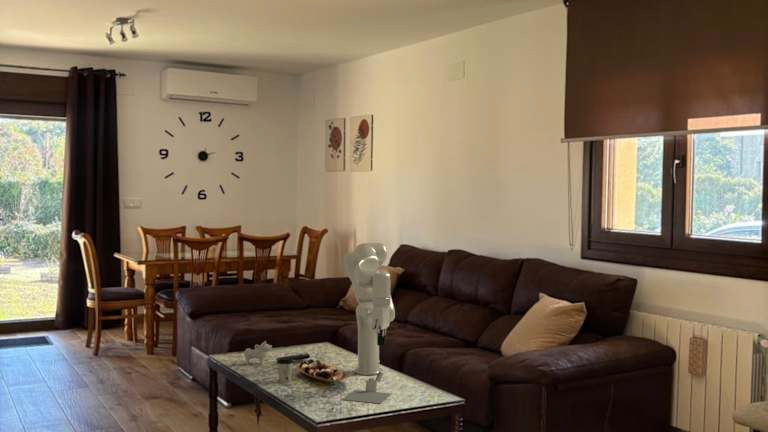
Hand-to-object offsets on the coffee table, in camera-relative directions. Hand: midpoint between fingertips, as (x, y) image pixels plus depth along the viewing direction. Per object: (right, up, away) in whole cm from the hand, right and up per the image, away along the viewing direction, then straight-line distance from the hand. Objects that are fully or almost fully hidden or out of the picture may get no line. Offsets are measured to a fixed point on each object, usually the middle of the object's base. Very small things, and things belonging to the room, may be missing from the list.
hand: (381, 345), depth 320 cm
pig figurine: (-58, -16, +38) cm, 71 cm away
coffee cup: (-41, -17, +8) cm, 45 cm away
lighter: (-3, -18, -7) cm, 19 cm away
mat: (-6, -18, -15) cm, 24 cm away
